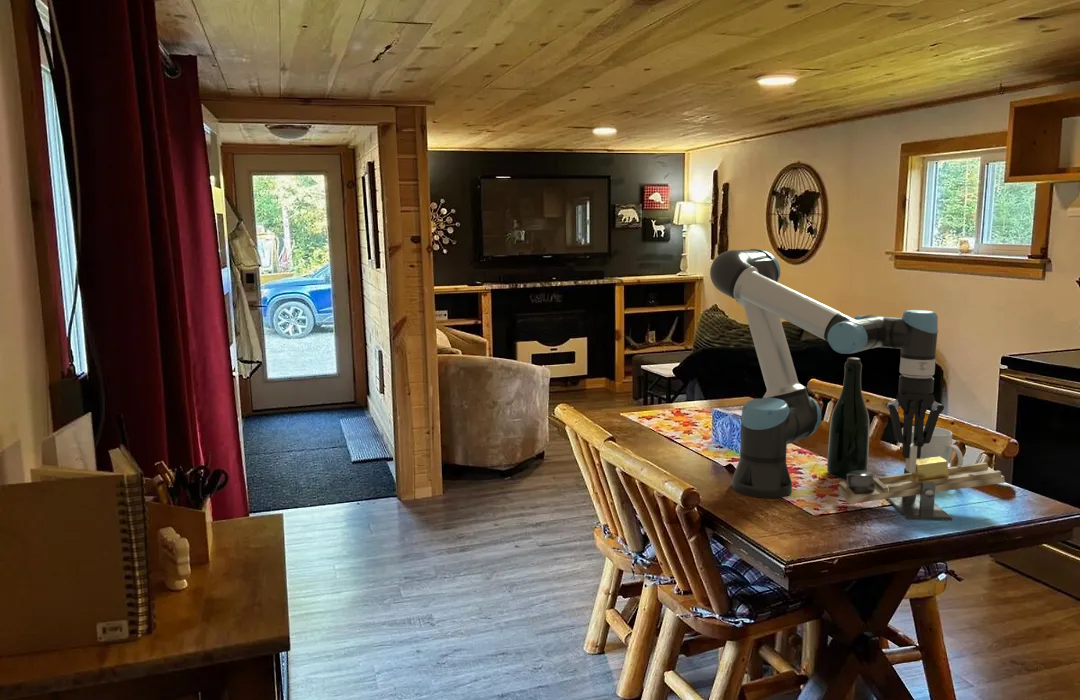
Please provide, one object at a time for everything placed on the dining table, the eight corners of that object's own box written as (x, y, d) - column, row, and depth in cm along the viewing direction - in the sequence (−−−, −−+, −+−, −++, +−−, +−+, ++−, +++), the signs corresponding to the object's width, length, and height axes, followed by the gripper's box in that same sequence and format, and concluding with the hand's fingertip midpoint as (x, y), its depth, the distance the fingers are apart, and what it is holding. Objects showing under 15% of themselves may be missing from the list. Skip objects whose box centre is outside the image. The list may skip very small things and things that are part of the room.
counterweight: (852, 495, 187) (850, 480, 187) (845, 487, 193) (843, 472, 193) (878, 492, 187) (876, 476, 186) (870, 484, 192) (868, 468, 192)
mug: (971, 481, 209) (975, 435, 207) (949, 489, 203) (952, 441, 201) (918, 467, 221) (921, 423, 219) (896, 474, 215) (899, 429, 213)
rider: (919, 485, 186) (916, 465, 186) (912, 479, 190) (910, 460, 190) (949, 481, 186) (947, 461, 185) (942, 475, 190) (939, 456, 189)
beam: (848, 504, 187) (847, 492, 186) (838, 492, 194) (837, 482, 194) (1004, 482, 183) (1003, 471, 182) (988, 472, 191) (987, 461, 190)
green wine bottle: (836, 466, 223) (843, 353, 218) (873, 474, 216) (881, 357, 211) (820, 474, 216) (826, 357, 211) (857, 483, 208) (864, 362, 203)
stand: (907, 519, 182) (910, 485, 181) (885, 497, 197) (887, 465, 196) (951, 520, 182) (954, 486, 180) (925, 498, 196) (928, 466, 195)
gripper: (894, 378, 181) (888, 475, 185) (952, 378, 180) (944, 476, 184) (882, 372, 189) (877, 465, 192) (938, 372, 187) (931, 466, 191)
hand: (910, 470), depth 188 cm, fingers closed
